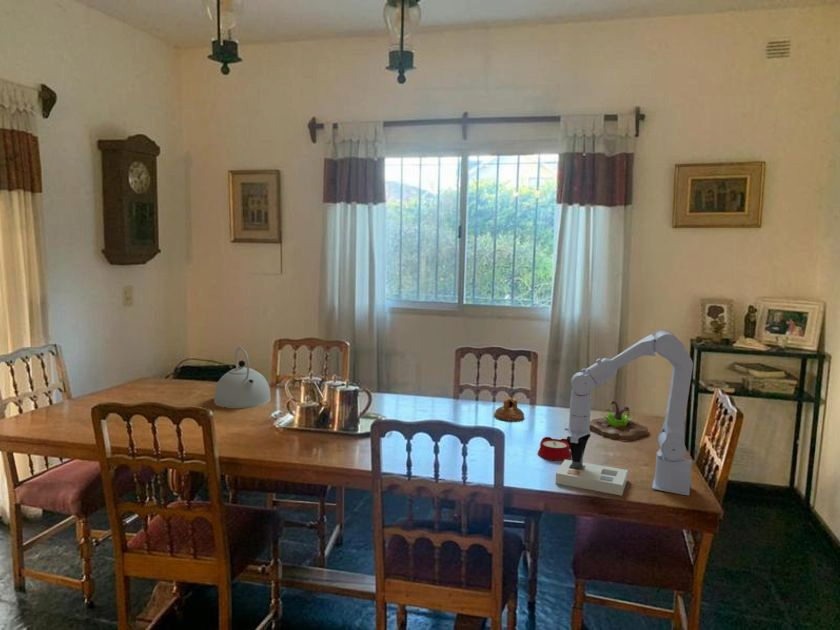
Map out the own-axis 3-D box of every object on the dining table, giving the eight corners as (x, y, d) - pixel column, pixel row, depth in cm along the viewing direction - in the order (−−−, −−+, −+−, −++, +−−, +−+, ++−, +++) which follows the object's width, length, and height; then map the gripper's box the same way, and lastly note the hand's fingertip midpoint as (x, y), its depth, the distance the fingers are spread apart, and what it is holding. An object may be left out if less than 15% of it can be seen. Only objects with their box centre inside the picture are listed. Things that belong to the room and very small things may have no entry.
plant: (610, 420, 232) (612, 392, 231) (656, 434, 217) (658, 404, 215) (576, 429, 221) (578, 399, 219) (622, 444, 205) (624, 412, 204)
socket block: (627, 480, 173) (627, 469, 173) (621, 495, 162) (622, 484, 162) (564, 469, 181) (564, 458, 180) (555, 483, 170) (556, 472, 170)
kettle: (280, 405, 245) (279, 350, 242) (223, 412, 233) (222, 355, 230) (260, 391, 266) (260, 341, 263) (208, 398, 254) (206, 345, 251)
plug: (583, 466, 175) (584, 438, 174) (581, 470, 173) (582, 441, 171) (572, 465, 176) (574, 436, 175) (570, 468, 174) (572, 439, 173)
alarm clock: (536, 449, 188) (541, 425, 201) (536, 466, 190) (540, 441, 203) (570, 453, 185) (573, 428, 198) (569, 470, 187) (572, 445, 200)
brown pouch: (523, 413, 239) (523, 396, 238) (524, 422, 227) (525, 404, 226) (493, 412, 240) (494, 394, 239) (493, 421, 228) (494, 402, 227)
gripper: (570, 406, 181) (568, 449, 182) (560, 418, 168) (558, 465, 169) (594, 409, 178) (592, 453, 179) (586, 422, 165) (583, 470, 166)
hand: (577, 459), depth 174 cm, fingers closed on plug, 3 cm apart
